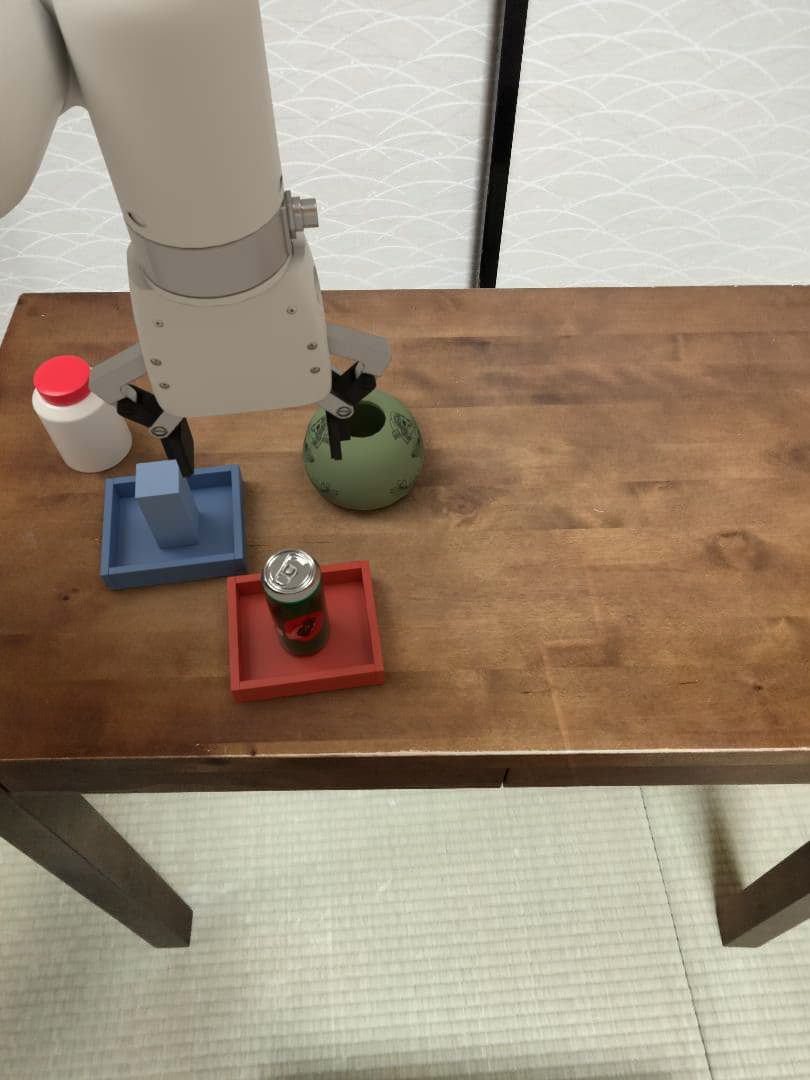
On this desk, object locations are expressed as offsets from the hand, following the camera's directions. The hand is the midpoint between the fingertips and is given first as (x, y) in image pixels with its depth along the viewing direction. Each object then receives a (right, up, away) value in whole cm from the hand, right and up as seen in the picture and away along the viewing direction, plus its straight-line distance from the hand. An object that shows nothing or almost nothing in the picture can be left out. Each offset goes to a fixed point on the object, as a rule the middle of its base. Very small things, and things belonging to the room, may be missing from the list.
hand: (262, 451), depth 54 cm
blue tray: (-14, -5, +30) cm, 33 cm away
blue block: (-14, -5, +30) cm, 33 cm away
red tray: (0, -15, +24) cm, 28 cm away
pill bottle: (-25, +5, +36) cm, 44 cm away
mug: (+5, +3, +35) cm, 36 cm away
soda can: (0, -15, +24) cm, 28 cm away
